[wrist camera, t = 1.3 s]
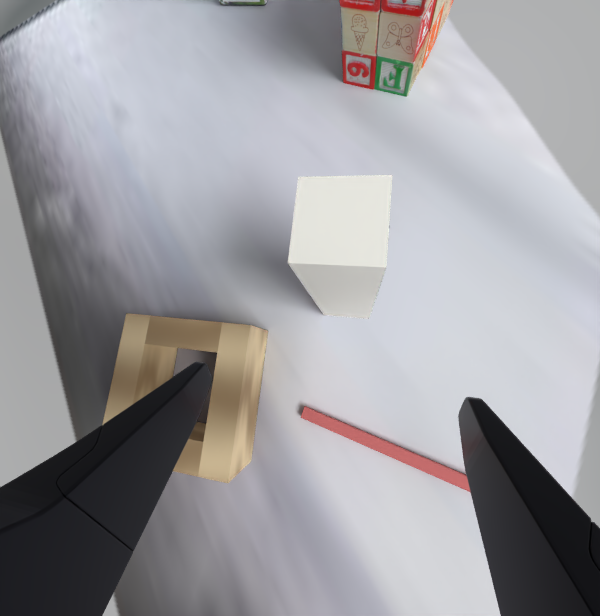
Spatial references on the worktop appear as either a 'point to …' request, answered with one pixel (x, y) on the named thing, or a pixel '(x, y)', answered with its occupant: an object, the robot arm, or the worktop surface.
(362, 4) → the stack of blocks
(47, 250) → the worktop surface
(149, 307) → the worktop surface
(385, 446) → the red square stick
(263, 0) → the syrup box
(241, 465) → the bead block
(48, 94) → the worktop surface
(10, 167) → the worktop surface
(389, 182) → the white rectangular block
